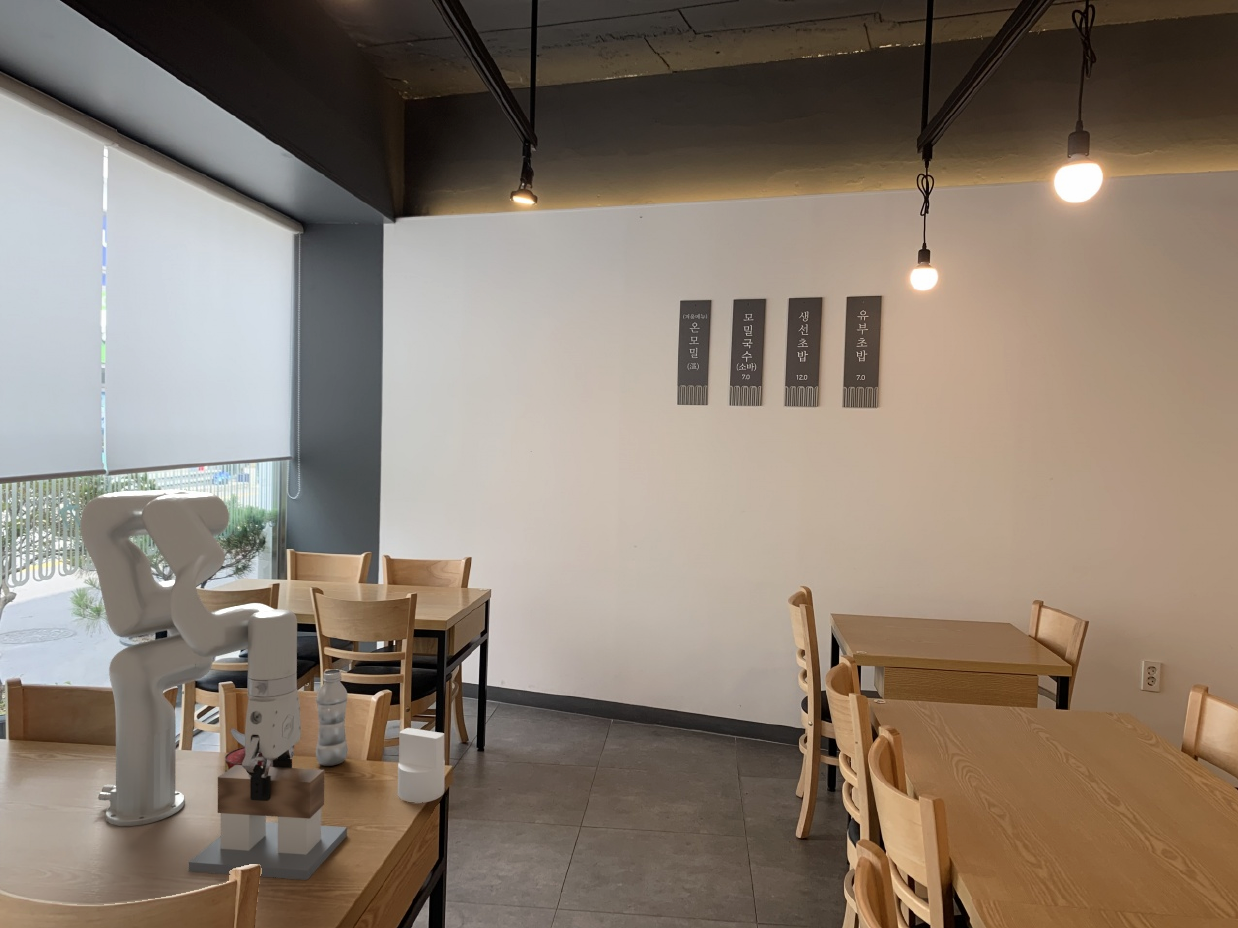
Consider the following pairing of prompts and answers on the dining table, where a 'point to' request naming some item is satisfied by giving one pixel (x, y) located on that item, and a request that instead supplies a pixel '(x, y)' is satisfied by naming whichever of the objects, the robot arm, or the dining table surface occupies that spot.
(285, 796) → the beam
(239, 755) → the canned food
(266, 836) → the board
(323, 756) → the plastic bottle
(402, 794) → the cylinder with rectangular tab
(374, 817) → the dining table surface
